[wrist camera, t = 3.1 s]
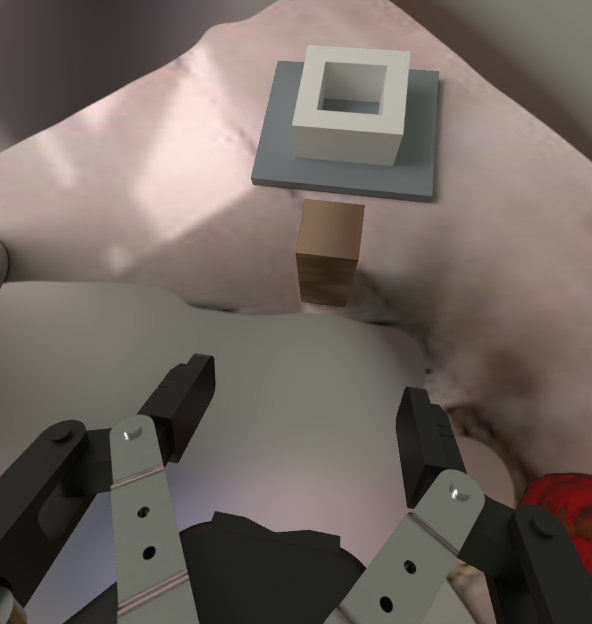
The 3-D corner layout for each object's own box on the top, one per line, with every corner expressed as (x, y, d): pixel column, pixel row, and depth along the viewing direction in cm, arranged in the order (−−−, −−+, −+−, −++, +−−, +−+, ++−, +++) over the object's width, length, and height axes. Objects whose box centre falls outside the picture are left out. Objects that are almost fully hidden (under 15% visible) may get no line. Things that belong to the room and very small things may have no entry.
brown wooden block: (301, 301, 31) (295, 252, 21) (307, 262, 32) (304, 198, 22) (344, 307, 30) (358, 260, 21) (349, 267, 31) (364, 205, 22)
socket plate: (252, 184, 35) (242, 148, 30) (278, 69, 39) (273, 21, 34) (428, 202, 33) (448, 167, 28) (435, 80, 37) (453, 31, 32)
